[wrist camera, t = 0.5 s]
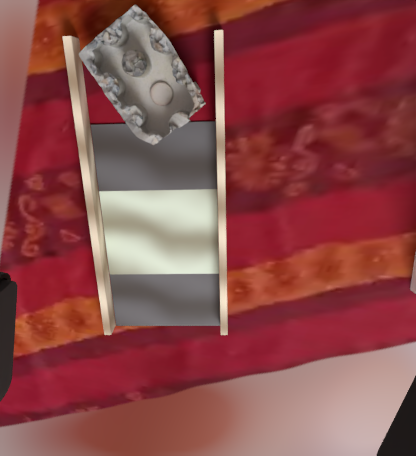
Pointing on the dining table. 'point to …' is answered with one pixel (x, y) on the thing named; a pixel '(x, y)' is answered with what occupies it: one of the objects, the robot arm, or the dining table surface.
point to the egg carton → (142, 76)
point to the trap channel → (155, 213)
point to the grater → (413, 278)
